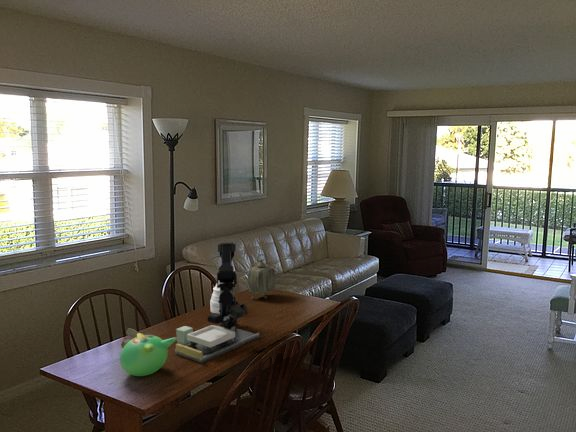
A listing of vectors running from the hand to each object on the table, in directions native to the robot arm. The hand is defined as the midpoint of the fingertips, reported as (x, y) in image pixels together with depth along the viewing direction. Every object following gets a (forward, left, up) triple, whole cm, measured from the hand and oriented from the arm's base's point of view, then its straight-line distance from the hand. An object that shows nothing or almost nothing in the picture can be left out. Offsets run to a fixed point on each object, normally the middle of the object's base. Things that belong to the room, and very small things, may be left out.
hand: (228, 333), depth 214 cm
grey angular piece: (-26, -31, -4) cm, 40 cm away
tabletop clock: (-31, +57, -4) cm, 65 cm away
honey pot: (-34, +29, -4) cm, 45 cm away
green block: (-15, -12, -4) cm, 19 cm away
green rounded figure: (-2, -41, -4) cm, 41 cm away
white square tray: (0, -9, -2) cm, 10 cm away
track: (0, -6, -4) cm, 7 cm away
